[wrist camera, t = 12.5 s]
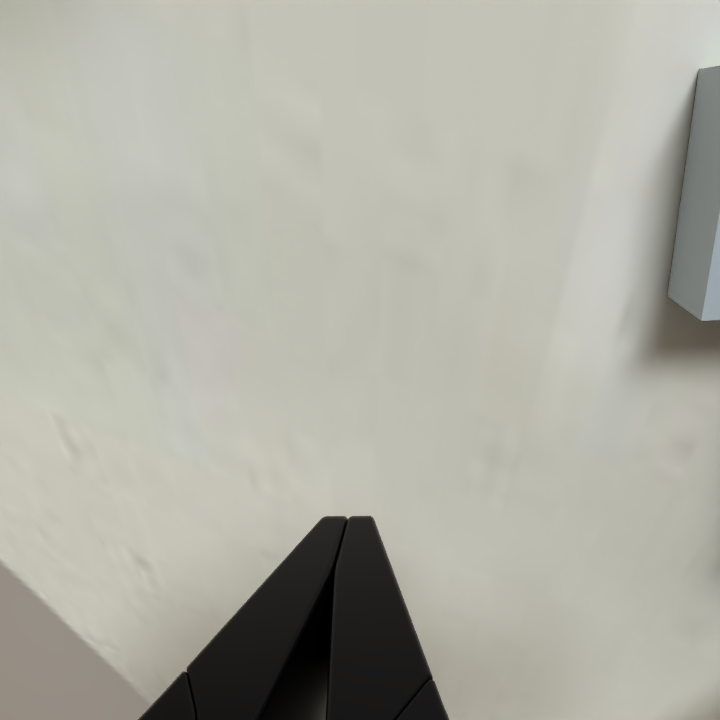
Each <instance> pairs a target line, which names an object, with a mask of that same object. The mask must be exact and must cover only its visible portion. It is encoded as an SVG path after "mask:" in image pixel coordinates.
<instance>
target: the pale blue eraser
mask: <svg viewBox="0 0 720 720" xmlns="http://www.w3.org/2000/svg"><path fill="white" fill-rule="evenodd" d="M667 296H668V297H669V298H671V299H672V300H673V301H675V302H676V303H677V304H679V305H680V306H681V307H683V308H684V309H686V310H687V311H688V312H690V313H691V314H692V315H694V316H695V317H697V318H698V319H699V320H701V321H709V320H720V66H715V67H710V68H704V69H699V73H698V80H697V87H696V94H695V102H694V109H693V116H692V123H691V130H690V137H689V145H688V152H687V159H686V166H685V173H684V180H683V187H682V195H681V202H680V209H679V216H678V223H677V230H676V237H675V245H674V252H673V259H672V266H671V273H670V280H669V287H668V295H667Z"/></svg>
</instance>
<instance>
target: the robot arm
mask: <svg viewBox="0 0 720 720" xmlns="http://www.w3.org/2000/svg"><path fill="white" fill-rule="evenodd" d="M138 720H449V718H448V715H447V713H446V710H445V708H444V706H443V703H442V700H441V698H440V695H439V692H438V690H437V687H436V684H435V682H434V681H433V678H432V674H431V671H430V669H429V666H428V663H427V661H426V658H425V655H424V653H423V650H422V647H421V645H420V642H419V639H418V637H417V634H416V631H415V628H414V626H413V623H412V620H411V618H410V615H409V612H408V610H407V607H406V604H405V602H404V599H403V596H402V594H401V591H400V588H399V585H398V583H397V580H396V577H395V575H394V572H393V569H392V567H391V564H390V561H389V559H388V556H387V553H386V550H385V548H384V545H383V542H382V540H381V537H380V534H379V532H378V529H377V526H376V524H375V521H374V519H373V517H371V516H351V517H350V518H349V519H348V518H347V517H345V516H326V517H323V518H322V519H321V520H320V521H319V522H318V523H317V524H316V525H315V526H314V527H313V529H312V530H311V531H310V532H309V533H308V534H307V535H306V536H305V537H304V539H303V540H302V541H301V542H300V543H299V544H298V545H297V546H296V547H295V548H294V550H293V551H292V552H291V553H290V554H289V555H288V556H287V557H286V558H285V560H284V561H283V562H282V563H281V564H280V565H279V566H278V567H277V568H276V569H275V571H274V572H273V573H272V574H271V575H270V576H269V577H268V578H267V579H266V581H265V582H264V583H263V584H262V585H261V586H260V587H259V588H258V589H257V590H256V592H255V593H254V594H253V595H252V596H251V597H250V598H249V599H248V600H247V602H246V603H245V604H244V605H243V606H242V607H241V608H240V609H239V610H238V611H237V613H236V614H235V615H234V616H233V617H232V618H231V619H230V620H229V621H228V623H227V624H226V625H225V626H224V627H223V628H222V629H221V630H220V631H219V632H218V634H217V635H216V636H215V637H214V638H213V639H212V640H211V641H210V642H209V644H208V645H207V646H206V647H205V648H204V649H203V650H202V651H201V652H200V653H199V655H198V656H197V657H196V658H195V659H194V660H193V661H192V662H191V663H190V664H189V666H188V667H187V672H182V673H181V674H180V675H179V676H178V677H177V679H176V680H175V681H174V682H173V683H172V684H171V685H170V686H169V687H168V688H167V690H166V691H165V692H164V693H163V694H162V695H161V696H160V697H159V698H158V699H157V700H156V701H155V702H154V703H153V705H152V706H151V707H150V708H149V709H148V710H147V711H146V712H145V713H144V714H143V715H142V716H141V717H140V718H139V719H138Z"/></svg>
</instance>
